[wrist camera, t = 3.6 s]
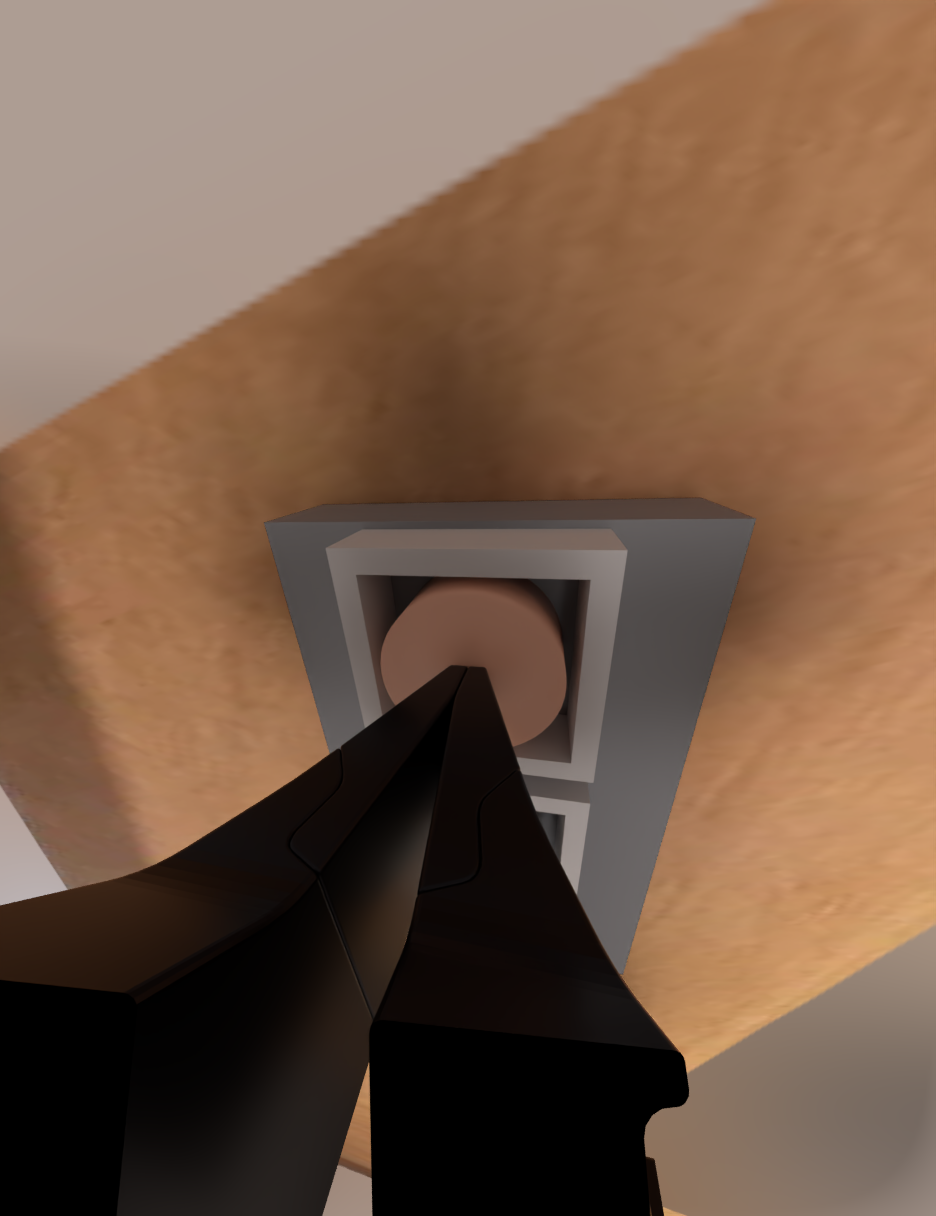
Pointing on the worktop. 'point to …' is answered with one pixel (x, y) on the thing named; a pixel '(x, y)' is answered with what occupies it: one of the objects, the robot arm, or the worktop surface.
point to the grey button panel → (592, 639)
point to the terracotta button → (483, 646)
